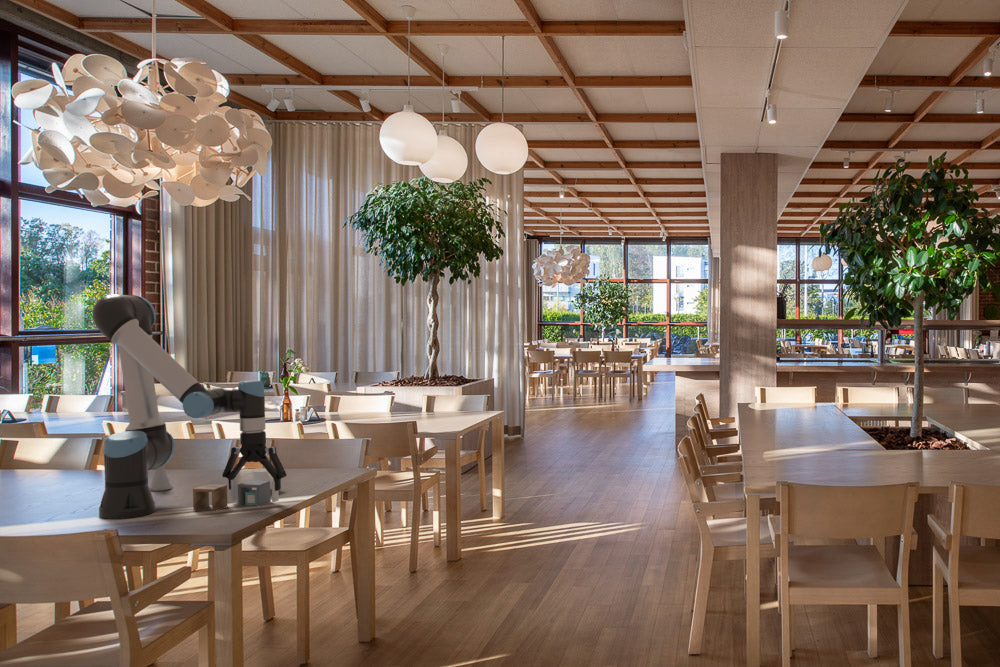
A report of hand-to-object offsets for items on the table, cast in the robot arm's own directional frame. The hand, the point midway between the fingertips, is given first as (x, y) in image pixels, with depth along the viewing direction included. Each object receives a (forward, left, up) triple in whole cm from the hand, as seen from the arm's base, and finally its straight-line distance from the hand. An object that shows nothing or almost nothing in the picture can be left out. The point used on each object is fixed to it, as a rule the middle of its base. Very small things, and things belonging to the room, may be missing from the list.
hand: (255, 500), depth 266 cm
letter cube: (0, 0, -1) cm, 1 cm away
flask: (+17, +44, -1) cm, 47 cm away
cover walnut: (-8, +10, -1) cm, 13 cm away
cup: (+20, +7, -1) cm, 21 cm away
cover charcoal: (0, 0, -1) cm, 1 cm away
